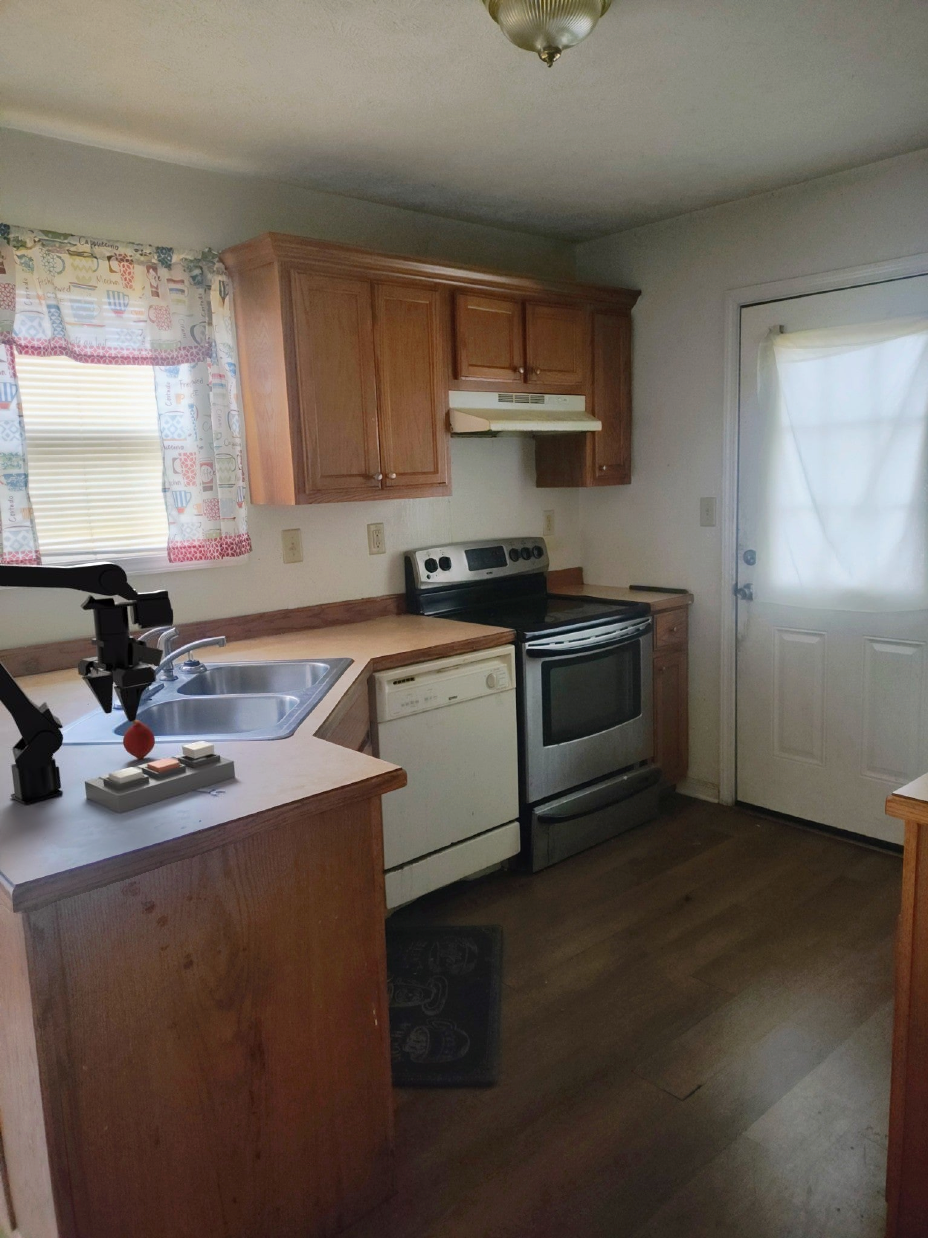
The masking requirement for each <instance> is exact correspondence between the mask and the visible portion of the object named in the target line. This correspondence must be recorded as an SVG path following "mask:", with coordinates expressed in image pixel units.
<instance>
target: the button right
mask: <svg viewBox="0 0 928 1238" xmlns="http://www.w3.org/2000/svg"><path fill="white" fill-rule="evenodd" d="M181 747H182V753H183V755H186V756H189V757H192V758H199V757H202V756H206V755H209V754H213V753H214V754H215V745H214V743H210V742H208V741H203V740H199V741H196V742H193V743H189V744H185V745H182V746H181Z"/></svg>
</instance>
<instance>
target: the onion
mask: <svg viewBox="0 0 928 1238" xmlns="http://www.w3.org/2000/svg"><path fill="white" fill-rule="evenodd" d="M132 723H133V725H131V726H130V727H129V728H128V729H127V730H126V731H125V734H124V735H123V738H122V744H123V747H124V749H125V751H126V752H127V753H128V754H129V755H131V756H133V757H134V758H136V759H137V760H143V759H144V758H145V757H146V756H147V755H149V754H150V753H151V751H152V750H153V749H154V747H155V743H156V739H155V735H154V732H153V731H152V730H151V728H150V727H149V726H147V725H146V724H144V723H142V722H141V721H140V720H138V719H135V721H132Z"/></svg>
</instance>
